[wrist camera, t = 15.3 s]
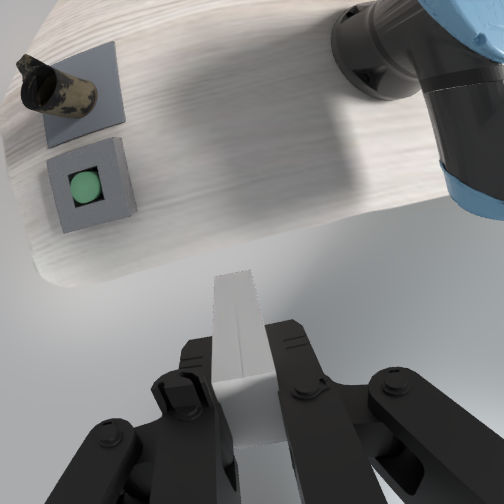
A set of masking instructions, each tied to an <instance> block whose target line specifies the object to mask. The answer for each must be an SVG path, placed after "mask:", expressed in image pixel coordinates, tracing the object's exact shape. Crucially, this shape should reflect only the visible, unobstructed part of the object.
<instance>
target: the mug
mask: <svg viewBox="0 0 504 504" xmlns="http://www.w3.org/2000/svg"><path fill="white" fill-rule="evenodd" d="M16 65H17V68H18V69H19V71H20V73H21V74H22V76H23V84H22V87H21V100H22V102H23V104H24V105H25V107H27V108H28V109H31V110H34V111H37V112H40V113H44V114H49V115H53V116H58V117H64V118H74V119H78V118H82V117H85V116H86V115H88V114H89V113H90V112H91V111H92V110H93V108H94V106H95V104H96V101H97V95H98V94H97V89H96V87H95V85H94V84H93V83H92V82H90V81H88V80H85V79H81V78H78V77H75V76H72V75H69V74H67V73H64V72H62V71H59V70H57V69H55V68H53V67H51V66H49V65H46V64H44V63H43V62H41V61H39V60H37V59H35V58H33V57H31V56H29V55H27V54H24V55H23V57H22V58H21V59H20V60H19V61H18V62H17V63H16Z"/></svg>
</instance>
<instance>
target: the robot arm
mask: <svg viewBox="0 0 504 504" xmlns="http://www.w3.org/2000/svg"><path fill="white" fill-rule="evenodd" d="M331 44H332V51H333V54H334V57H335V60H336V62H337V64H338V66H339V68H340V70H341V71H342V73H343V74H344V75H345V77H346V78H347V79H348V80H349V81H350V82H351V83H352V84H353V85H354V86H355V87H357V88H358V89H359V90H361V91H362V92H364V93H366V94H368V95H370V96H372V97H375V98H378V99H382V100H397V99H402V98H406V97H409V96H412V95H413V94H415V93H417V92H418V91H419V90H420V89H422V92H423V95H424V98H425V102H426V105H427V108H428V112H429V115H430V119H431V123H432V127H433V131H434V135H435V139H436V143H437V147H438V152H439V156H440V160H439V162H440V166H441V168H442V170H443V172H444V176H445V180H446V184H447V189H448V192H449V194H450V196H451V198H452V199H453V200H454V201H455V202H456V203H457V204H458V205H459V206H460V207H462V208H463V209H465V210H466V211H468V212H470V213H472V214H475V215H477V216H481V217H484V218H489V219H494V220H501V221H502V220H503V221H504V0H377V1H371V2H365V3H360V4H357V5H355V6H353V7H351V8H349V9H348V10H347V11H346V12H345V13H344V14H343V15H342V16H340V18H339V19H338V20H337V22H336V23H335V25H334V28H333V31H332V37H331ZM495 81H496V82H495ZM487 82H488V83H487ZM479 83H481V84H479ZM472 84H474V85H472ZM465 85H467V86H465ZM459 86H461V87H459ZM452 87H455V88H452ZM447 88H449V89H447ZM441 89H443V90H441ZM436 90H438V91H436ZM431 91H433V92H431ZM151 391H152V393H153V395H154V398H155V400H156V401H157V404H158V406H159V408H160V410H161V412H162V417H161V418H159V419H158V420H156V421H153V422H151V423H148V424H144V425H141V426H138V427H135V428H133V426H132V425H131V424H130V423H129V422H128V421H126V420H123V419H121V418H118V419H117V418H112V419H108V420H105V421H102V422H101V423H99V424H97V425H96V426H95V427H94V428H93V429H92V430H91V431H90V433H89V434H88V435H87V437H86V438H85V440H84V442H83V443H82V445H81V446H80V448H79V449H78V451H77V452H76V454H75V456H74V457H73V459H72V460H71V462H70V463H69V465H68V467H67V468H66V470H65V471H64V473H63V475H62V476H61V478H60V479H59V481H58V483H57V484H56V486H55V488H54V489H53V491H52V492H51V494H50V496H49V497H48V499H47V501H46V502H45V504H241V496H240V485H239V474H238V465H237V462H236V459H235V456H234V454H233V453H234V452H233V444H234V446H235V449H236V450H237V449H244V448H250V447H256V446H262V445H267V444H272V443H278V442H283V441H288V445H289V450H290V455H291V461H292V467H293V469H294V473H295V477H296V481H297V486H298V490H299V494H300V499H301V503H302V504H388V503H387V501H386V498H385V496H384V494H383V492H382V489H381V487H380V485H379V482H378V480H377V478H376V475H375V473H374V471H373V469H372V466H373V468H374V469H375V470H376V471H377V472H378V474H379V475H380V476H381V477H382V478H383V479H384V480H385V482H386V483H387V484H388V485H389V486H390V487H391V488H392V490H393V491H394V492H395V493H396V494H397V495H398V496H399V497H400V499H401V500H402V501H403V502H404V503H405V504H504V439H503V438H502V437H500V436H499V435H498V434H496V433H495V432H494V431H492V430H491V429H490V428H488V427H487V426H486V425H485V424H483V423H482V422H481V421H479V420H478V419H477V418H475V417H474V416H472V415H471V414H470V413H469V412H468V411H466V410H465V409H464V408H462V407H461V406H460V405H458V404H457V403H456V402H454V401H453V400H452V399H450V398H449V397H448V396H446V395H445V394H444V393H443V392H441V391H440V390H439V389H437V388H436V387H435V386H433V385H432V384H431V383H429V382H428V381H427V380H425V379H424V378H422V377H421V376H420V375H419V374H418V373H416V372H414V371H412V370H410V369H408V368H403V367H389V368H386V369H383V370H380V371H379V372H377V373H376V374H375V375H374V376H372V378H371V380H370V382H369V384H368V385H343V384H339V383H336V382H334V381H332V380H331V379H330V377H328V376H326V375H325V374H324V373H323V371H322V368H321V366H320V364H319V362H318V359H317V357H316V355H315V353H314V350H313V348H312V346H311V344H310V341H309V339H308V337H307V335H306V333H305V330H304V328H303V326H302V325H301V324H299V323H298V322H296V321H295V320H293V319H291V320H287V321H282V322H278V323H273V324H268V325H264V322H263V318H262V314H261V310H260V306H259V302H258V297H257V293H256V290H255V285H254V281H253V277H252V273H251V270H247V271H241V272H236V273H231V274H226V275H221V276H216V277H215V280H214V305H213V335H212V336H211V337H204V338H199V339H193V340H189V341H188V342H187V343H186V345H185V346H184V347H183V349H182V351H181V357H180V364H179V369H178V370H174V371H170V372H168V373H166V374H164V375H162V376H161V377H160V378H158V379H157V380H156V381H155V382H154V384H153V386H152V388H151ZM371 465H372V466H371Z"/></svg>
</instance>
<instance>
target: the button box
mask: <svg viewBox="0 0 504 504" xmlns="http://www.w3.org/2000/svg"><path fill="white" fill-rule="evenodd" d="M46 161H47V167H48V172H49V176H50V181H51V186H52V190H53V194H54V199H55V203H56V207H57V211H58V214H59V218H60V222H61V226H62V229H63V233H68V232H72V231H75V230H79V229H83V228H86V227H90V226H94V225H98V224H102V223H106V222H109V221H113V220H117V219H121V218H125V217H130V216H131V215H133V214H134V213H135V212H137V208H136V204H135V200H134V195H133V191H132V187H131V182H130V178H129V173H128V168H127V164H126V159H125V154H124V149H123V144H122V138H116V137H112V138H109V139H106V140H103V141H99V142H96V143H93V144H90V145H87V146H84V147H82V148H79V149H76V150H73V151H70V152H67V153H65V154H62V155H59V156H57V157H54V158H51V159H49V160H46ZM95 167H97V168H98V173H99V177H100V182H101V186H102V191H103V195H104V198H103V199H100V200H96V201H92V202H89V203H80V202H78V201H76V200H75V199H74V198H73V196H72V194H71V190H70V186H71V182H72V180H73V178H74V177H75V176H76V175H77V174H79V172H82V171H85V170H88V169H92V168H95Z"/></svg>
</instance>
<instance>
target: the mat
mask: <svg viewBox="0 0 504 504" xmlns="http://www.w3.org/2000/svg"><path fill="white" fill-rule="evenodd" d="M51 67H53V68H55V69H57V70H59V71H62V72H64V73H67V74H69V75H72V76H75V77H78V78H81V79H85V80H88V81H90V82H92V83H93V84H94V85H95V87H96V89H97V94H98V95H97V101H96V104H95V106H94V108H93V110H92V111H91V112H90V113H89V114H88V115H86V116H85V117H82V118H78V119H74V118H64V117H58V116H53V115H49V114H44V113H43V117H44V124H45V131H46V138H47V144H48V148H51V147H54V146H56V145H59V144H61V143H64V142H67V141H69V140H72V139H75V138H77V137H80V136H83V135H86V134H89V133H92V132H95V131H98V130H101V129H104V128H107V127H110V126H113V125H116V124H120V123H123V122H126V120H125V114H124V108H123V102H122V95H121V89H120V82H119V75H118V67H117V59H116V51H115V42H114V41H112V42H109V43H106V44H103V45H100V46H97V47H95V48H92V49H89V50H87V51H84V52H82V53H79V54H77V55H74V56H72V57H70V58H67V59H65V60H63V61H60V62H58V63H56V64H54V65H51Z"/></svg>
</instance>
